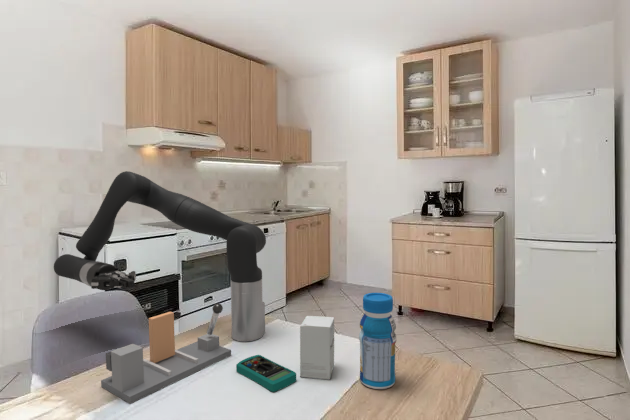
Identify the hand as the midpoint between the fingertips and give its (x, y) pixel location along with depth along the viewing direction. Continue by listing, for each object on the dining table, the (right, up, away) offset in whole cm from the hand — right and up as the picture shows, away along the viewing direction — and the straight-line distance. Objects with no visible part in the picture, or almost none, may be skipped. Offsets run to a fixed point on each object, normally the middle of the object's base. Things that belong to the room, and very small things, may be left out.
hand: (131, 284), depth 105 cm
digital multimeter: (+37, -20, -12) cm, 44 cm away
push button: (+4, -16, -16) cm, 23 cm away
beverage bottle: (+64, -20, -14) cm, 68 cm away
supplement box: (+50, -20, -10) cm, 54 cm away
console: (+14, -19, -8) cm, 25 cm away
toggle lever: (+20, -14, +1) cm, 25 cm away
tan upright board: (+11, -17, -7) cm, 21 cm away
